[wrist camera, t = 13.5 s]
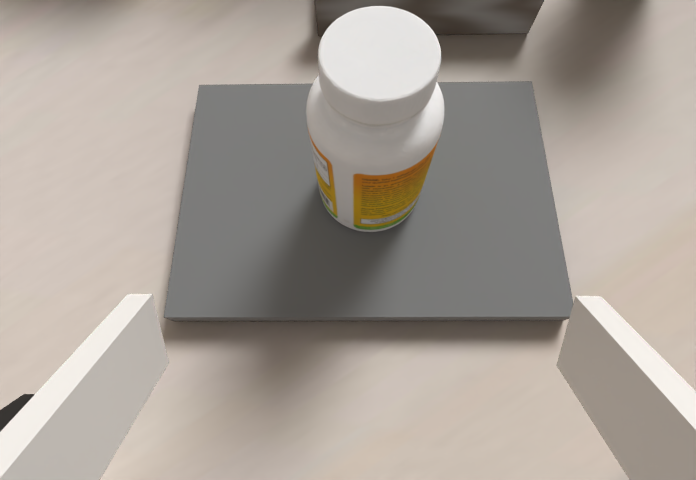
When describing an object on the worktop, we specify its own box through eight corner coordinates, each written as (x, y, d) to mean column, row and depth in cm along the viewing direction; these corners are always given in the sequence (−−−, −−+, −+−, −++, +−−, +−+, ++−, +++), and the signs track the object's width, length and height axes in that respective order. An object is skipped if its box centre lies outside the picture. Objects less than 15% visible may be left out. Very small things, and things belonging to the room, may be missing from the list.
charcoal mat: (523, 94, 26) (531, 81, 24) (563, 320, 21) (575, 316, 20) (205, 98, 26) (199, 84, 25) (173, 321, 21) (163, 317, 20)
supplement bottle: (435, 170, 22) (492, 23, 13) (390, 252, 21) (419, 150, 12) (350, 130, 23) (347, -33, 14) (301, 206, 22) (262, 77, 13)
